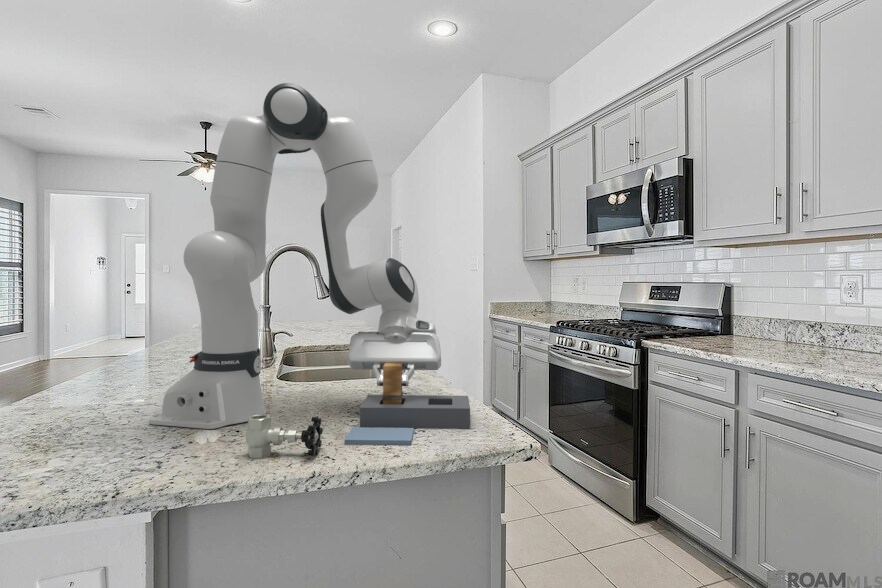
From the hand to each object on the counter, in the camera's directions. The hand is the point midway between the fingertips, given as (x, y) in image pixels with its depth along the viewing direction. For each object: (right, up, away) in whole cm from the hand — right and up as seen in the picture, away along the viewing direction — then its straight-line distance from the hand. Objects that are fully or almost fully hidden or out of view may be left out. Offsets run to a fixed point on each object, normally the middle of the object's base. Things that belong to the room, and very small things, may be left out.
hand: (392, 384), depth 99 cm
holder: (+5, -8, +1) cm, 9 cm away
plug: (0, -7, +1) cm, 7 cm away
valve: (-17, -9, -18) cm, 26 cm away
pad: (-1, -8, -10) cm, 13 cm away
